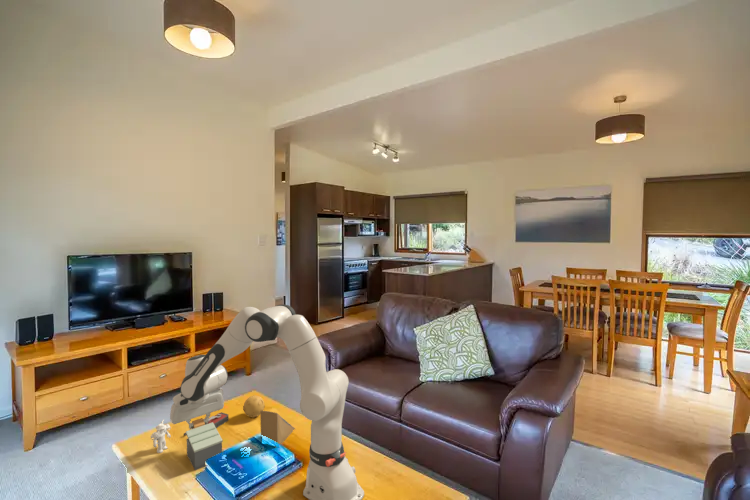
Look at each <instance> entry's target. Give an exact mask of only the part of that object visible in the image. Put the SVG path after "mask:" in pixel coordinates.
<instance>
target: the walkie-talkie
mask: <svg viewBox="0 0 750 500" xmlns="http://www.w3.org/2000/svg"><path fill="white" fill-rule="evenodd" d="M229 419H230V418H229V414H228V413H225V412H223V411H222V412H218V413H217V414H215V415H212V416H210V417H209V419H208V423H207V424H209V423H212V422H213V423H214V425H215V427H216V429H217V428H219V427H221V426H222V425H224V424H225V423H227V422H229ZM205 425H206V424H205ZM192 429H193V428H192ZM183 436H187V434H186V432H184V433H183Z"/></svg>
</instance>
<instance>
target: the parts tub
mask: <svg viewBox="0 0 750 500" xmlns="http://www.w3.org/2000/svg"><path fill="white" fill-rule="evenodd" d="M221 452H222V453H223V442H221V443H219V444H216V445H213V446H211V447H208V448H206V449H203V450H200V451H198V452H195V453H194V451H193V449H192V446H191V444H190V441H189V439H188V438H186V456H187V458H188V460H189V462H190V464H191V466H192V467H193V470H194V471H197V470H200V469H202V468H205V467H206V466H205V461H206V459H208V458H210V457H212V456H214V455H216V454H218V453H221Z"/></svg>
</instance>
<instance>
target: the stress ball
mask: <svg viewBox="0 0 750 500" xmlns="http://www.w3.org/2000/svg"><path fill="white" fill-rule="evenodd" d="M242 406H243V407H242V410H243V412H244V414H245V415H246V416H247V417H248V418H249V417H250V418H257V417H258V416H260V411H264V409H265V407H266V406H265V401H264V399H263V397H261V396H259V395H251V396H249V397H247V399H246V400H245V402H244V404H243V405H242Z"/></svg>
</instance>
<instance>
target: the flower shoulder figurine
mask: <svg viewBox="0 0 750 500" xmlns="http://www.w3.org/2000/svg"><path fill="white" fill-rule="evenodd" d="M164 421H165V418H163V419H162V421H160V423H159V424H157V426H156V427H155V430H156V431H153V432H152V434H150V439H151V440H152V441H153V444H152V447H153V448H157V449H156V453H157V454H161V453H164V450H166V449H168V446H167V445H166V444H167V443H166V438H165V437H167V438H172V437H171V434H170V432H169V431H170V430H171V426H170V423H166V424H164Z"/></svg>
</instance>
